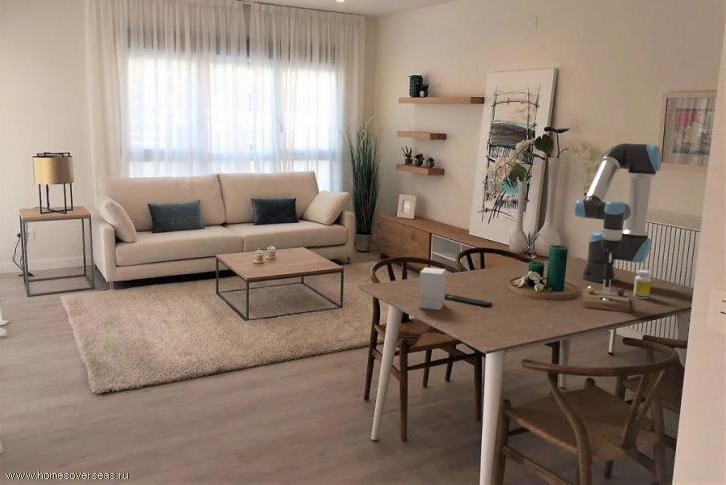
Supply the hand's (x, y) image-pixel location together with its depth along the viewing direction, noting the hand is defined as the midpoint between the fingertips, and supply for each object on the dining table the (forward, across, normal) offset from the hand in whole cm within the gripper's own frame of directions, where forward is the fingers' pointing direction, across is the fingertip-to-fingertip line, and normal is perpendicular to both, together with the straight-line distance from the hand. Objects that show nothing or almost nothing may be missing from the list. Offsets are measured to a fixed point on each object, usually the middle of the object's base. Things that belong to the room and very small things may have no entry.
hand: (605, 293), depth 268 cm
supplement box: (+4, +32, -67) cm, 74 cm away
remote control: (+5, +20, -56) cm, 60 cm away
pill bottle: (+4, -16, +15) cm, 22 cm away
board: (+4, -1, 0) cm, 4 cm away
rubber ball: (0, -6, +6) cm, 8 cm away
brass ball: (0, -4, -6) cm, 7 cm away
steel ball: (+3, +4, 0) cm, 4 cm away
